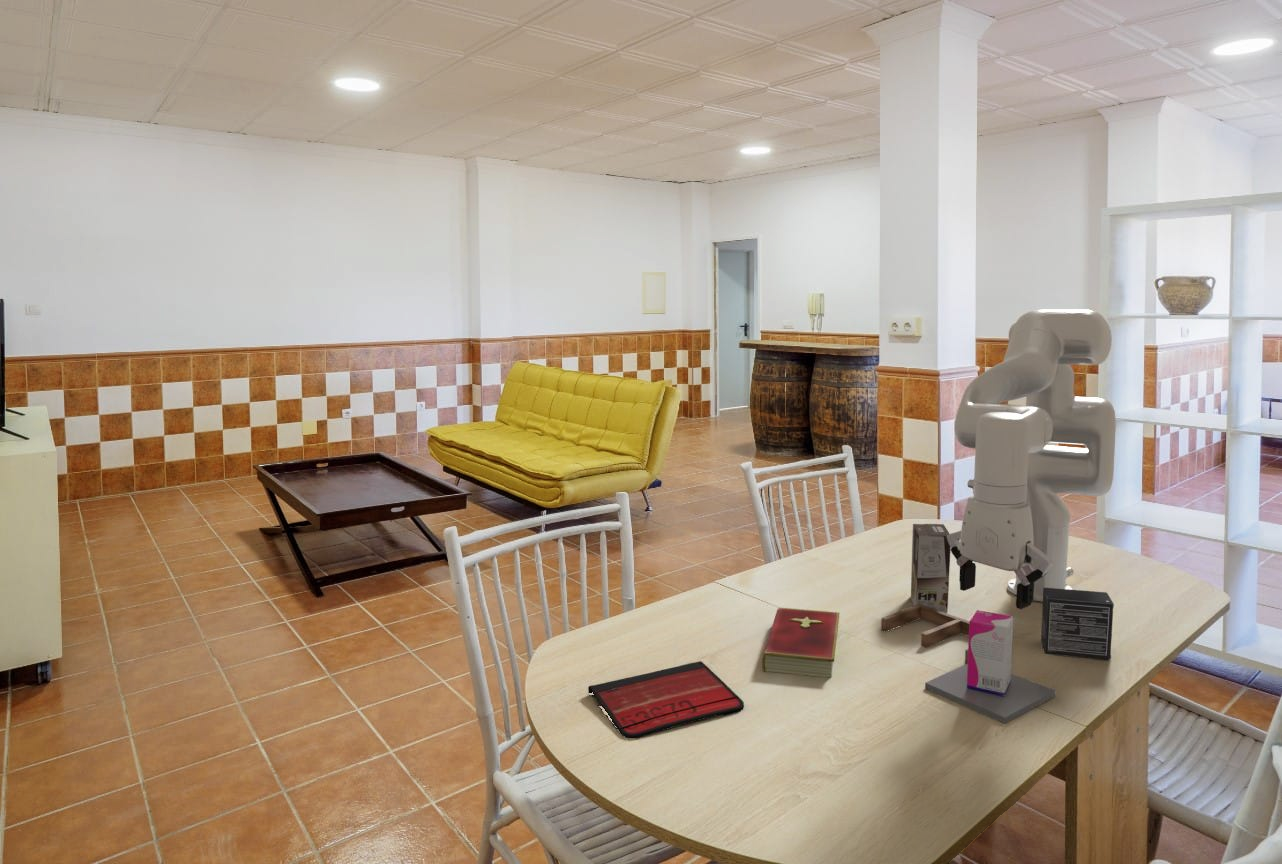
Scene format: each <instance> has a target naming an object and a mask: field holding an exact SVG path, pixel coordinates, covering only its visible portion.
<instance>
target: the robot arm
mask: <svg viewBox="0 0 1282 864" xmlns="http://www.w3.org/2000/svg"><path fill="white" fill-rule="evenodd" d="M1112 340H1113V339H1112V331H1111V327H1110V326H1109V323H1108V322H1107V320H1106V319H1105V317H1104V316H1103V315H1102V314H1100V312H1097V311H1094V310H1091V309H1034V310H1031V311H1027V312H1026V313H1023V314H1022V315H1021V316H1020V317H1019V318H1018V319H1017V320H1016V322H1015V323H1013V324H1012V325H1011V326H1010V328H1009V330H1008V346H1007V349H1006V351H1005V354H1004V358H1003V361H1002V362H999V363H998V364H996V365H994V366H992V367H990V368H988V369H987V370H986V371H984V372H983V373H980V375H978V376H977V377H975V378H974V379H973V380H972V381H971V382H969V384H968V385H967V386H966V388H965V389H964V392H963V395H962V397H961V400H960V403H959V405H958V408H957V411H956V412H957V413H956V414H955V419H954V435H955V438H956V440H957V442H958V443H959V444H960V445H961V446H964V447H966V448H967V449H975V451H974V453H975V455H974V471H973V472H974V475H973V479H972V478H971V479H968V481H967V487H968V488H970V489H972V494H973V495H972V496H969V497H968V499H967V501H966V505H965V508H964V512H963V517H962V523H961V530H958V531H955V532H952V533H949V535H947V540H948V543H949V545H950V547H951V549H950V553H951V554H952V555H953V557H954V558H955V560H956V564H957V566H958V567H959V589H960V591H963V592H964V591H967V590H970V589H972V588H974V587H975V586H976V573H977V571H976V570H977V565H976V563H977V564H982V565H984V566H989V567H991V568H995V569H998V570H999V569H1000V570H1003V571H1007V572H1014V574H1015V578H1012V579H1010V580H1008V581H1007V590H1008V591H1009V592H1010V593H1011V594H1013V595H1015V596H1016V598H1015V600H1016V601H1015V607H1016V609H1018V610H1023V609H1025V608H1027V607H1029V606H1031V604H1032V603H1033V602H1034V601H1035V602H1042V603H1043V588H1056V589H1069V590H1074V589H1073V588H1072V586H1070V585H1068V584H1066V583H1067V579H1068V578H1069V577H1072V576H1073V575H1074V574H1075V571H1074V569H1073V568H1071V567H1070V566H1068V555H1069V538H1070V524H1071V523H1070V522H1071V514H1070V511H1069V507H1068V506H1067V505H1066V503H1065V502H1064V500H1063V499H1062V497H1061V496H1060V495H1059V494H1068V495H1069V494H1070V495H1080V496H1090V497H1098V496H1104V495H1106V494H1108V493H1109V491H1110V490H1111V487H1112V484H1113V480H1114V470H1115V469H1114V468H1115V447H1116V446H1115V445H1116V427H1117V423H1116V422H1117V421H1116V411H1115V409H1114V408H1115V407H1114V406H1113V404H1112V403H1111V402H1110V401H1109V400H1107V399H1105V398H1101V397H1093V396H1088V397H1087V396H1076V395H1075V392H1074V387H1075V385H1074V384H1075V372H1074V369H1073V368H1072V366H1071V365H1073V366H1074V365H1075V366H1076V365H1077V366H1080V365H1081V366H1082V365H1083V366H1098V365H1101V364H1102V363H1104V362H1105V361H1106V360H1107V358H1108V356H1109V354H1110V351H1111V348H1112ZM1021 398H1026V399H1025V401H1026V402H1025V405H1021V404H1019V405H1018V404H1005V402H1010V401H1014V400H1019V399H1021ZM1049 443H1055V444H1066V445H1081V446H1085V447H1073V446H1066V445H1065V446H1064V445H1055V444H1054V445H1053V444H1051V445H1049Z"/></svg>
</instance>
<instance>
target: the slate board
mask: <svg viewBox="0 0 1282 864" xmlns="http://www.w3.org/2000/svg"><path fill="white" fill-rule="evenodd" d="M967 669H968V664H965V663H964V664H963V665H961V666H959V667H957V668H954V669H952V670H951V671H948V672H946V673H943V674H942V675H939V676H938V677H934V678H933V679H930V680H929V681H926V682H925V683H924V684H925V685H924V688H925V689H926V690H928V691H930V692H932V693H934V694H936V695H938V696H941V697H944V698H946V699H948V700H950V701H952V700H953V702H955V703H957V704H958V705H962V706H963V707H966V708H968V709H970V710H973V711H975V712H978V713H980V714H982V715H984V716H986V717H989V718H990V719H993V720H995V721H998V722H1000V723H1003V724H1005V725H1006V724H1007V723H1009V722H1011V721H1012V720H1014V719H1016V718H1018V717H1019V716H1022V715H1024V714H1025V713H1027V712H1029V711H1030V710H1033V709H1035V708H1037V707H1038V706H1040V705H1042V704H1044V703H1045V702H1047V701H1049V700H1051V699H1053V698H1055V697H1056V692H1057V691H1056V689H1053V688H1051V687H1049V686H1046V685H1043V684H1041V683H1038V682H1035V681H1033V680H1030V679H1027V678H1025V677H1022V676H1019V675H1017V674H1015V673H1012V672H1011V682H1010V685H1009V687H1008V689H1007V691H1006V694H1005V696H1000V695H995V694H991V693H987V692H982V691H977V690H973V689H968V688H967Z"/></svg>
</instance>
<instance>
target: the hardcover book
mask: <svg viewBox="0 0 1282 864" xmlns="http://www.w3.org/2000/svg"><path fill="white" fill-rule="evenodd" d="M840 614H841V613H840V611H839V612H837V611H825V610H814V609H803V608H791V607H790V608H789V607H778V608H777V610H776V612H775V616H774V619H773V623H772V625H771V629H770V632H769V635H768V639H767V642H766V645H765V648H764V652H763V654H762V661H761V667H762V672H763V673H766V672H772V673H780V674H781V673H783V674H791V675H793V674H794V675H801V676H802V675H803V676H812V677H821V678H830V679H831V678H832V675H833V668H834V667H833V666H834V662H835V657H836V655H835V653H836V646H837V638H838V630H839V623H840V622H839V621H840Z"/></svg>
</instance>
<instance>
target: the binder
mask: <svg viewBox="0 0 1282 864" xmlns="http://www.w3.org/2000/svg"><path fill="white" fill-rule="evenodd" d="M587 691H588V694H589V693H592V692H593V694H594V695H593V696H594V697H595V698H596V700H597V701H598V702H599V705H600V706H602V707H603V708H604V709H605V711H606V712H607V713H608V715H609V716H610V718H611V719H612V722H613V723H614V725H615V726H616V727H617V728H616V727H615V726H614V725H613V726H614V727H615V728H616V730H617V729H618V730H619V731H618V730H617V731H618V732H619V734H621V736H623V737H624V736H625V737H624V738H627V739H629V738H636V739H641V738H643V737H646V736H649V735H653V734H654V732H655V733H658V731H659V732H661V731H664V730H663V729H665V730H668V729H667V728H669V729H672V728H671V727H673V728H675V727H678V725H679V726H682V725H681V724H683V725H685V724H684V723H687V724H689V723H688V722H690V723H692V722H691V721H694V722H696V721H695V720H697V721H700V720H699V719H701V720H704V719H708V718H712V717H711V716H713V717H716V716H723V717H724V716H728V715H733V713H734V714H737V713H740V712H742V711H743V710H744V709H745V708H744V707H745V705H744V704H745V703H744V701H743V699H742V698H740V696H738V694H736V692H734V691H733V690H732V689H731V687H729V686H728V685H727V684H726V683H725V682H724V681H723V680H722V679H721V678H720V677H719V676H718V675H717V674H716V673H714V672H713V671H712V669H710V668H709V667H708V666H707V665H706V664H705V663H704V662H702V661H700V660H699V661H695V662H690V663H687V664H682V665H679V666H674V667H668V668H663V669H660V670H656V671H652V672H648V673H643V674H639V675H638V674H637V675H634V676H629V677H625V678H620V679H615V680H611V681H606V682H601V683H598V684H591V685H589V686H588V687H587ZM741 710H742V711H741ZM715 715H716V716H715ZM707 717H708V718H707ZM703 718H704V719H703ZM674 726H675V727H674ZM652 733H653V734H652ZM640 737H641V738H640Z"/></svg>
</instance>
